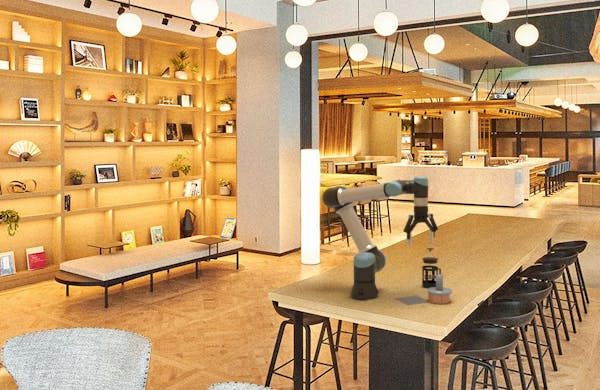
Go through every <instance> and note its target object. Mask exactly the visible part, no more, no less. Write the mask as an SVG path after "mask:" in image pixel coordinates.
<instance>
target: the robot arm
mask: <svg viewBox="0 0 600 390" xmlns="http://www.w3.org/2000/svg"><path fill="white" fill-rule="evenodd" d="M402 195H413V205H414V206H413V215H412V214H408V219H407V221H406V224H405V225H404V226H405V227H404V228H403V232H404V233H406V239H407V246H413V233H412V231H413V230H414V229H415V227H416V226H417V224H420V223H421V224H422V223H424V224H425V225H426V226H427V228H428V229H429V230H430V231H429V244H432V245H433V244H434V242H435V241H434V238H435V233H436V232H437V231H439V228H438V225H437V223H436V221H435V219H434V218H435V217H434V214H433V213H429V178H428V177H427V176H414V177H413V179H412V180H410V179H408V180H407V179H394V180H392V181H390V182H384V183H378V184H377V183H376V184H369V185H365V186H364V185H363V186H357V187H351V188H349V187H346V186H343V185H337V186H333V187H328V188H327V189H325V190H324V191H323V193H322V195H321V196H322V197H321V200H322V202H323V205H324V206H326V207H327V208H329V209H333V210H334V212H335V214H338V215H339V216H340V218H341V220H342V222H343V223H344V225H345V227H346V229H347V231H348V233H349V235H350V236H351V239H352V241H353V243H354V244H355V246H356V248H357V249H358V253H356V254H355V255H354V256H353V263H352V264H353V284H352V287H351V290H350V297H351V298H352V299H355V300H358V301H359V300H360V301H368V300H373V299H374V300H375V299H377V298H379V290H378V288H377V285H376V274H377V273H379V272H380V271H382V270H383V269H384V268H385V266H386V264H387V258H386V255H385V254H384V253H383V252H382V251H381V250H379V248H378V246H377V245H376V244H373V243H372V240H371V238H370V237H369V235H368V233H367V231H366V230H365V228H364V226H363V224H362V223H361V220H360V218H359V216H358V215H357V212H356V211H355V209H354V202H355V203H356V202H360V201H369V200H377V199H383V198H391V197H393V198H395V197H398V196H402Z"/></svg>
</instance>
